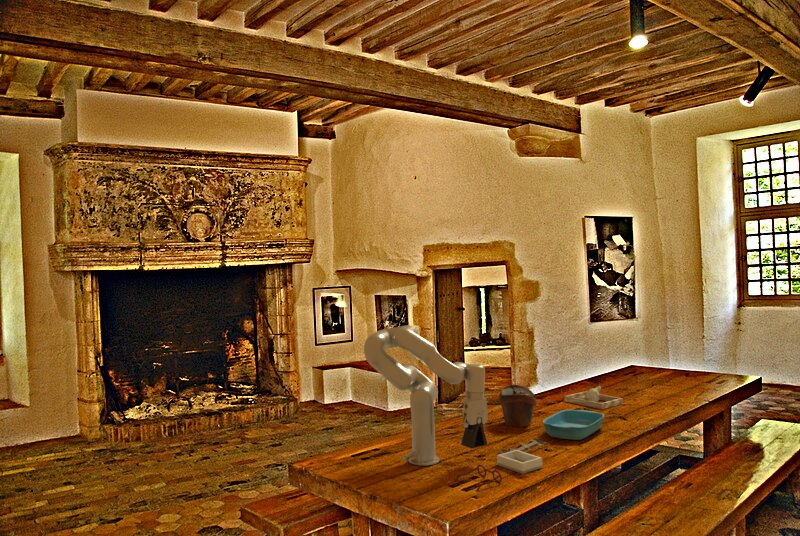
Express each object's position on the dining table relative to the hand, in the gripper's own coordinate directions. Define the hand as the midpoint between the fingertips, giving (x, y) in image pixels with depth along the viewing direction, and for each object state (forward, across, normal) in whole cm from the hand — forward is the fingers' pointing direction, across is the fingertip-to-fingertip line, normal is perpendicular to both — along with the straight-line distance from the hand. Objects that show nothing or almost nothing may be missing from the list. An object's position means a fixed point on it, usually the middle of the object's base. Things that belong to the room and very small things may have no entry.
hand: (474, 439), depth 283 cm
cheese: (+8, +122, +38) cm, 128 cm away
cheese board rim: (+8, +122, +36) cm, 127 cm away
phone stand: (+2, 0, 0) cm, 2 cm away
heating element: (+10, +29, 0) cm, 31 cm away
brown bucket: (+10, +59, +32) cm, 68 cm away
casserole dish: (+9, +68, +5) cm, 69 cm away
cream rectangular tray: (+9, +12, -14) cm, 21 cm away
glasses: (+10, -14, -17) cm, 24 cm away
